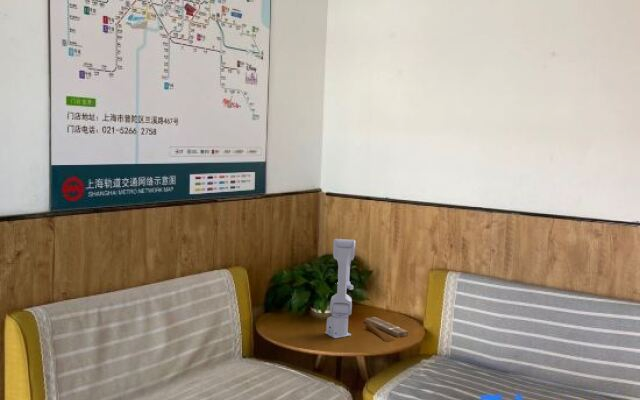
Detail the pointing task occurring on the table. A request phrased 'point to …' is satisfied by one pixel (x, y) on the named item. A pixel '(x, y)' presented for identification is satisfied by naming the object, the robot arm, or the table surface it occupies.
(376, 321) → the walnut plank
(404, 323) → the table surface
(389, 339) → the primitive tool
